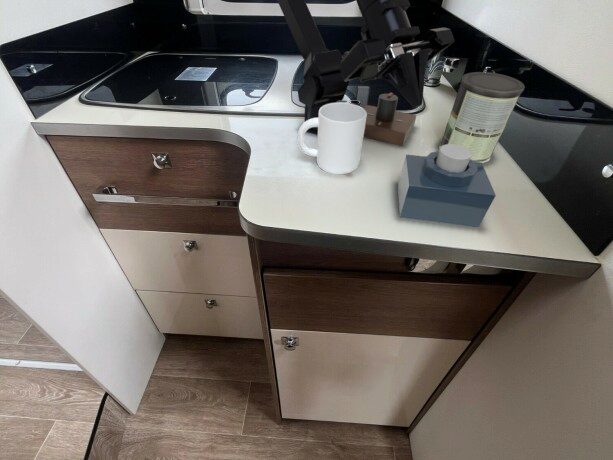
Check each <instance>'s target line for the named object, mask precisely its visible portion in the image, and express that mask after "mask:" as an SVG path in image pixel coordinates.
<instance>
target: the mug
mask: <svg viewBox="0 0 613 460" xmlns="http://www.w3.org/2000/svg"><path fill="white" fill-rule="evenodd" d="M363 108H364V107H362V106H360V105H358V104H354V103H350V102H337V103H330V104H326V105H324V106H322V107H321V108H320V109H319V117H318V118H312V119H309V120H307V121H305V120H304V121H303V123H302V124H301V125H300V127H299V128H298V131H297V136H296V143H297V145H298V147H299V149H300V151H301V152H302V153H303V154H305V155H307V156H310V157H314V158H315V157H316V163H317V165H318V167H319V168H320V169H321V170H322V171H324V172H325V173H329V174H331V175H347V174H351V173H352V172H354V171H355V170H357V169H358V167H359V165H360V162H361V157H362V156H361V155H362V148H363V143H364V141H363V140H364V138H365V137H364V130H365V124H366V117H367V112H366V111H365V109H363ZM312 127H318V134H317V139H316V140H317V141H316V148H313V147H312V148H311V147H309V146H307V144H306V142H305V141H306V140H305V135H306V133H307V130H308V129H309V128H312Z"/></svg>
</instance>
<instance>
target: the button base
mask: <svg viewBox="0 0 613 460" xmlns="http://www.w3.org/2000/svg"><path fill="white" fill-rule="evenodd" d="M438 153H439V150H437V151H432V152H429V154H427V156H423V155H415V154H405V157H404V161H403V164H402V168H401V172H400V176H399V178H398V179H399V180H398V183H397V193H398V194H397V195H398V207H399V208H398V209H399V211H398V212H399V218H402V219H410V220H411V219H412V220H419V221H426V222H432V223H433V222H434V223H443V224H449V225H458V226H464V227H473V228H479V227H480V225H482V222H483V220H484V218H485V216H486V215H487V213H488V211H489V209H490V207H491V205H492V204H493V202H494V200H495V198H496V193H495V190H494V187H493V185H492V183H491V181H490V179H489V176H488V174H487V172H486V169H485V167H484V165H483V164H482V163H481V162H474V161H472V160H471V159H470V161H469V163H468V165H467V168H466V170H465V171H464V172H459V173H457V172H449V171H446V170H444V169H441V168H440V167H438V166H437V165H436V159H437V156H438Z"/></svg>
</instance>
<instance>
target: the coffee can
mask: <svg viewBox="0 0 613 460" xmlns="http://www.w3.org/2000/svg"><path fill="white" fill-rule="evenodd" d="M525 88H526V87H525V84H524V83H523V82H522V81H520V80H519V79H517V78H515V77H512V76H508V75H505V74H502V73H495V72H489V71H475V72H473V71H472V72H467V73H465V74H464V75H462V77H461V80H460V85H459V88H458V91H457V93H456V96H455V100H454V102H453V105H452V108H451V112H450V114H449V117H448V120H447V123H446V126H445V128H444V131H443V135H442V138H441V140H440V143H439V145H438V151H439V150H440V148H441V146H443V145H446V144H455V145H460V146H463V147H465V148H467V149H468V150H470V151H471V153H472V156H471V158H470V159H471V160H472V161H474V162H481V163H482V165H483V164H485V163H488V162H489V161H490V160H491V158H492V156H493V153H494V151H495V148H496V147H497V144H498V142H499V140H500V139H501V136H502V134H503V132H504V130H505V128H506V126H507V124H508V121H509V119H510V117H511V115H512V113H513V111H514V109H515V107H516V105H517V103H518V101H519V98H520V96H521V95H522V93H523V92H524V90H525Z"/></svg>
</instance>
